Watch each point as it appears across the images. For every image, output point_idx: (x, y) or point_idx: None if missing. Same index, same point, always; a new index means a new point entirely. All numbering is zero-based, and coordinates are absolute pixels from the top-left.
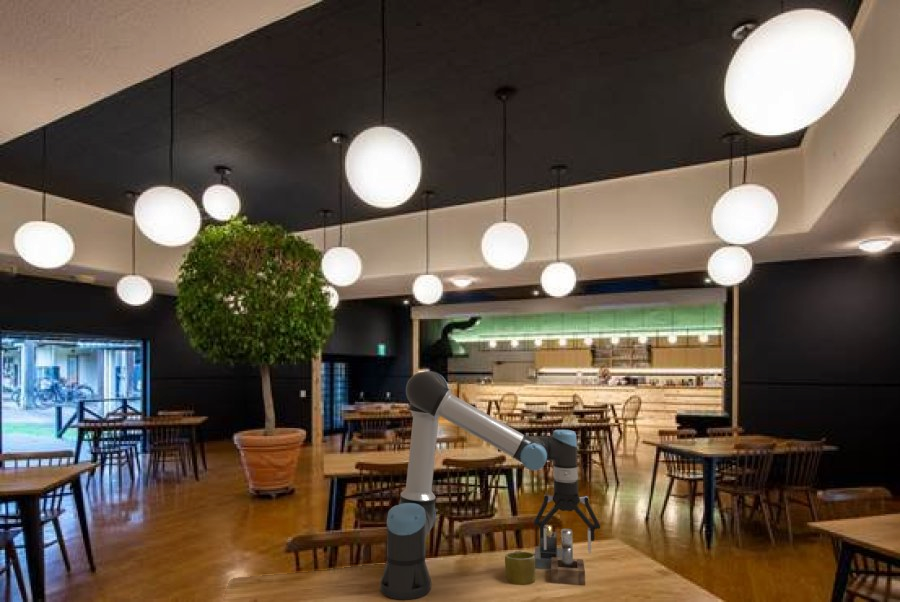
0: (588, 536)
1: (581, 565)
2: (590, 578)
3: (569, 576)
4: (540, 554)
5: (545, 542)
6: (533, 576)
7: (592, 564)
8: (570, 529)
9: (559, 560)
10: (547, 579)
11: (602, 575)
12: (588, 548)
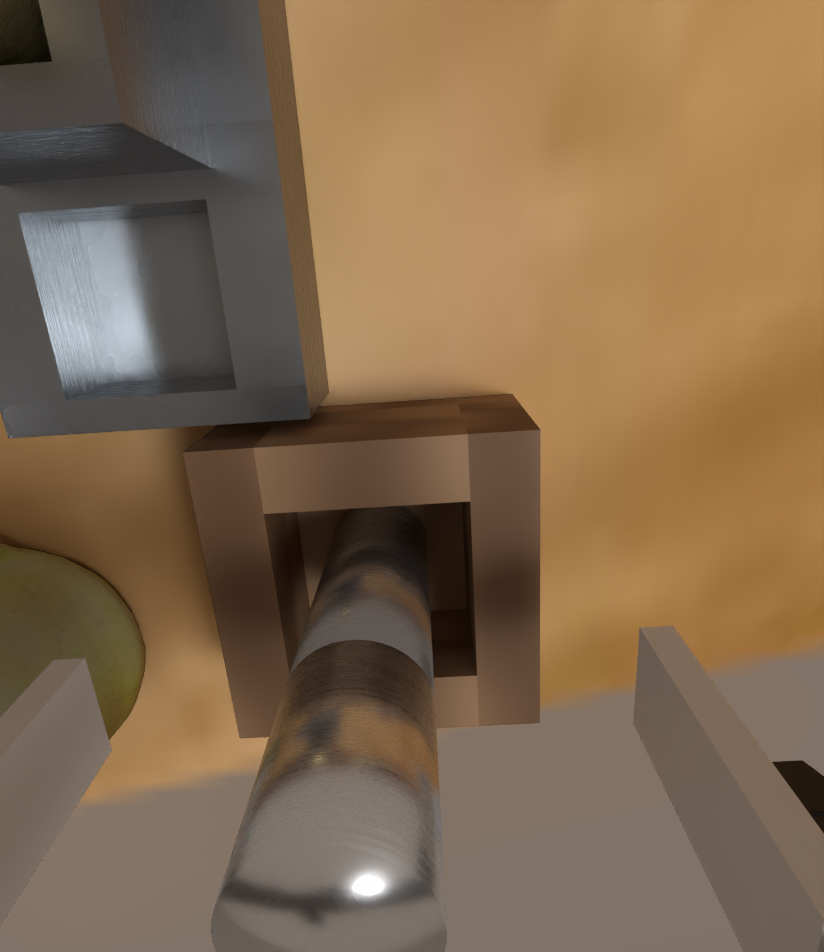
0: (738, 929)
1: (514, 603)
2: (569, 435)
3: None
4: (32, 284)
5: (50, 827)
6: (119, 718)
7: (625, 37)
8: (405, 871)
9: (283, 510)
10: None
11: (685, 338)
12: (652, 759)
